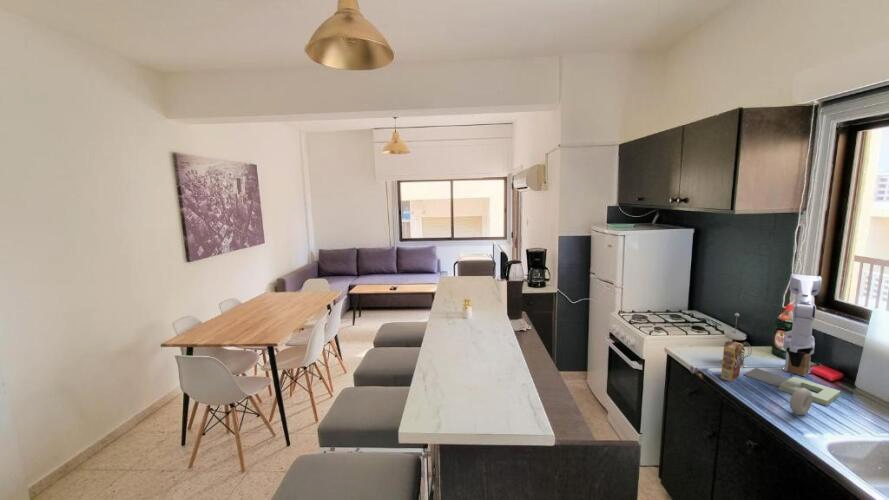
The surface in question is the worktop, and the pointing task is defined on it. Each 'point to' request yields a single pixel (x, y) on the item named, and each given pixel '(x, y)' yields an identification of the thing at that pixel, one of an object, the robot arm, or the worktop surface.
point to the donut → (801, 401)
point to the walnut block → (803, 367)
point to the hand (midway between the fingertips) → (798, 364)
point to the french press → (735, 337)
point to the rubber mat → (766, 377)
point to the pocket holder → (822, 397)
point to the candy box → (731, 361)
